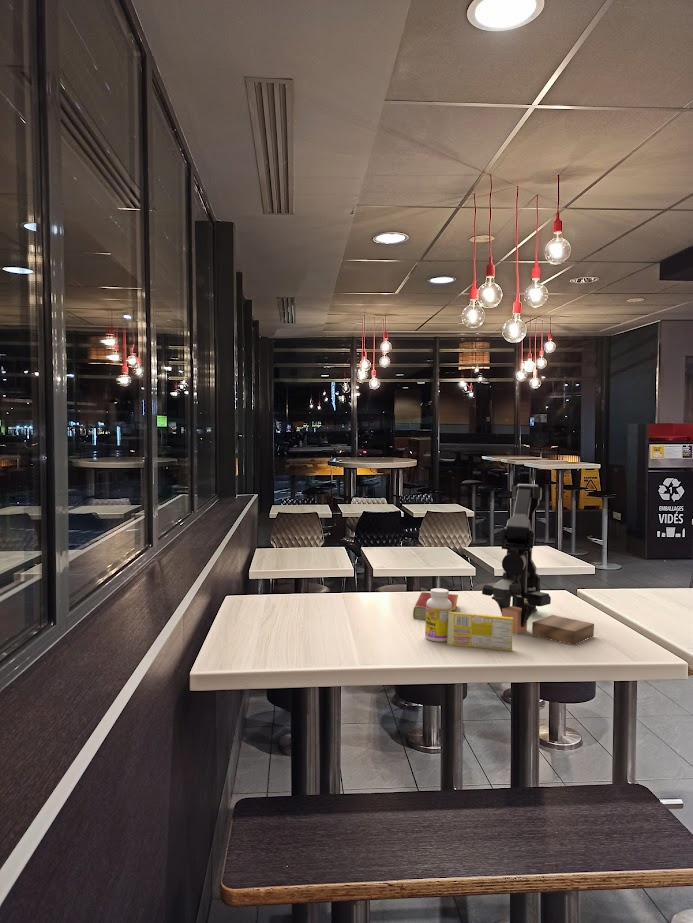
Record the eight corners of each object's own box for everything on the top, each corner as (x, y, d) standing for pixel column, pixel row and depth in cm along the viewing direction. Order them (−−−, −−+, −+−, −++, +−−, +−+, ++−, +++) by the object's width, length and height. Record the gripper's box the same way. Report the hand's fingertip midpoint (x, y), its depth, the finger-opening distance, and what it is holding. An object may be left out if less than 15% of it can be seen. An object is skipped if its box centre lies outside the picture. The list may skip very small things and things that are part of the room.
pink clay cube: (501, 629, 189) (502, 608, 189) (511, 627, 192) (511, 605, 192) (517, 633, 185) (517, 612, 185) (526, 630, 189) (527, 609, 188)
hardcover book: (412, 619, 198) (413, 605, 198) (420, 603, 219) (420, 591, 219) (454, 623, 196) (454, 608, 196) (457, 607, 216) (458, 593, 216)
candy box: (512, 649, 171) (513, 617, 171) (512, 652, 169) (513, 619, 168) (447, 642, 175) (449, 610, 175) (446, 644, 173) (448, 612, 173)
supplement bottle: (420, 636, 180) (422, 587, 179) (442, 634, 182) (444, 586, 182) (432, 643, 173) (434, 593, 173) (455, 641, 176) (457, 592, 175)
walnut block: (531, 636, 185) (532, 621, 184) (552, 629, 193) (553, 615, 193) (574, 646, 176) (574, 631, 176) (593, 638, 185) (594, 623, 185)
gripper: (471, 566, 189) (469, 622, 190) (531, 577, 176) (528, 637, 176) (494, 563, 197) (491, 616, 197) (552, 573, 184) (550, 630, 184)
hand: (514, 624), depth 189 cm, fingers closed on pink clay cube, 5 cm apart
